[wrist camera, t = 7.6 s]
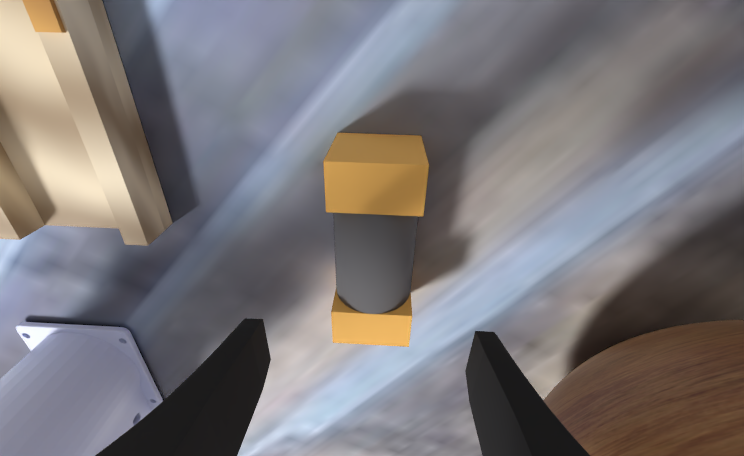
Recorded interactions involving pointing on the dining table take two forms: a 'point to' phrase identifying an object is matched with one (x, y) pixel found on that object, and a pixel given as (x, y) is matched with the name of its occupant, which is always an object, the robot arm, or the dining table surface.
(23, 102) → the rack
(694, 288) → the dining table surface
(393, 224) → the yellow dumbbell
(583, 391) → the bowl
